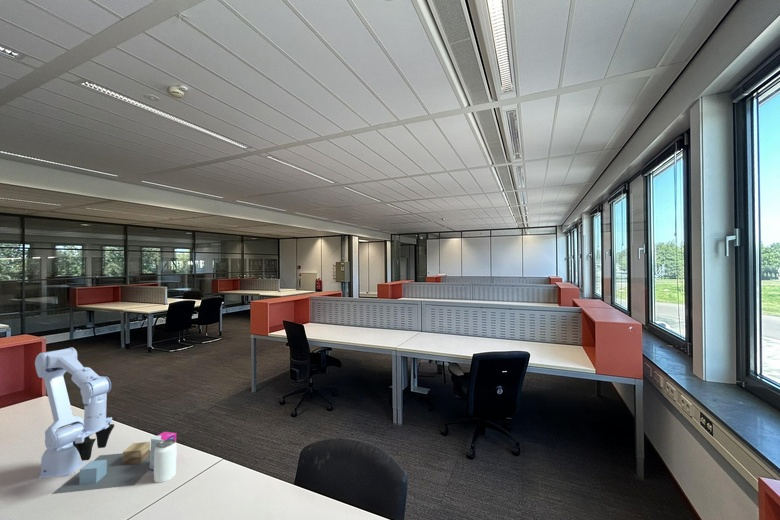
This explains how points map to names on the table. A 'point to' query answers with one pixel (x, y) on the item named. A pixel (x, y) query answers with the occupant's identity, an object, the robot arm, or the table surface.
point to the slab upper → (136, 450)
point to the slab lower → (136, 459)
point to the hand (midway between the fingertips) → (94, 453)
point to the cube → (93, 472)
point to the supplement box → (155, 441)
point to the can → (165, 460)
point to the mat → (110, 475)
